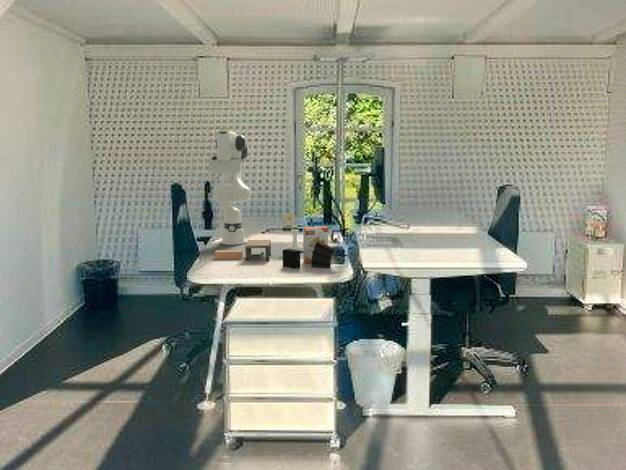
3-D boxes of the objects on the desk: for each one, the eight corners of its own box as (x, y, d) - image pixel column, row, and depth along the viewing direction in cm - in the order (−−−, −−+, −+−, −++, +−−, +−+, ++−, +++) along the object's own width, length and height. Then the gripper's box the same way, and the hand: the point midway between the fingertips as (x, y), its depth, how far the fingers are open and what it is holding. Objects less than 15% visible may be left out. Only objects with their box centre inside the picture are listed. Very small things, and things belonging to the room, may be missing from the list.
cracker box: (305, 263, 400) (305, 228, 396) (303, 261, 405) (302, 227, 402) (328, 262, 403) (328, 227, 400) (325, 260, 409) (325, 225, 405)
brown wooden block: (216, 257, 420) (216, 250, 419) (242, 257, 420) (242, 250, 419) (215, 259, 415) (215, 252, 414) (241, 259, 415) (241, 251, 414)
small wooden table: (248, 254, 427) (248, 239, 425) (270, 254, 427) (270, 239, 425) (245, 261, 408) (245, 245, 406) (269, 261, 408) (268, 245, 406)
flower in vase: (305, 249, 441) (304, 211, 436) (303, 253, 430) (302, 214, 425) (284, 249, 442) (284, 211, 438) (282, 253, 431) (281, 213, 427)
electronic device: (295, 269, 387) (295, 251, 385) (282, 266, 393) (282, 249, 392) (300, 267, 390) (300, 250, 388) (287, 265, 396) (287, 248, 395)
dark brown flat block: (307, 262, 395) (318, 240, 391) (327, 273, 393) (338, 250, 389) (305, 264, 391) (316, 241, 387) (325, 275, 389) (336, 252, 385)
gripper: (241, 156, 428) (242, 178, 430) (208, 157, 426) (209, 179, 429) (240, 157, 421) (241, 179, 424) (207, 157, 420) (208, 180, 423)
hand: (225, 179), depth 426 cm, fingers open, 8 cm apart
